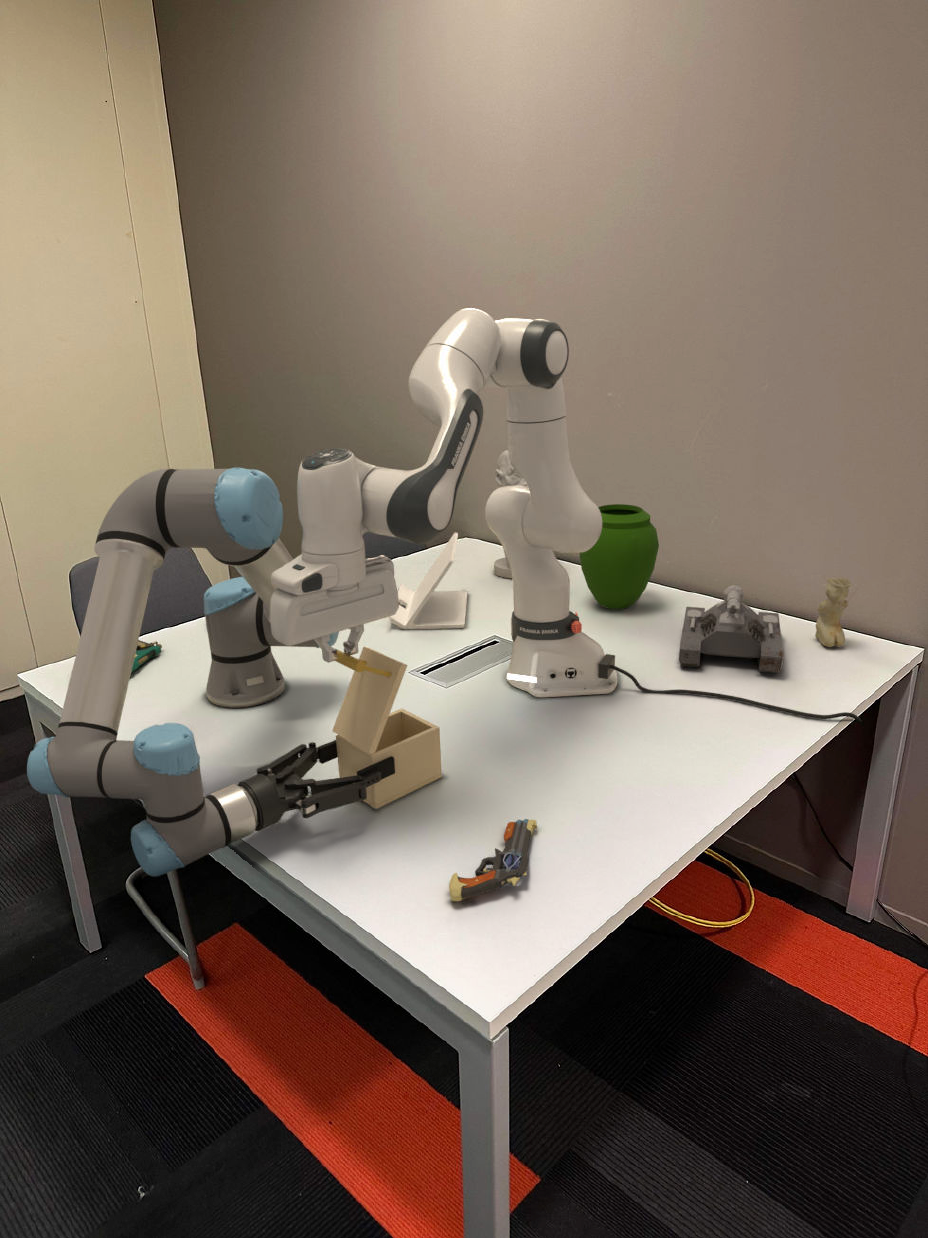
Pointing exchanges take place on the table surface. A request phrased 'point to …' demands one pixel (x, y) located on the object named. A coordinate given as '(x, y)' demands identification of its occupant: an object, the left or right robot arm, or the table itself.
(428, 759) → the chest
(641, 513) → the vase
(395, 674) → the lid
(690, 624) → the toy
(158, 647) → the spray gun
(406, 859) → the table surface
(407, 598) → the tablet stand
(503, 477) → the bust sculpture
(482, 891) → the toy gun
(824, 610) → the sculpture
